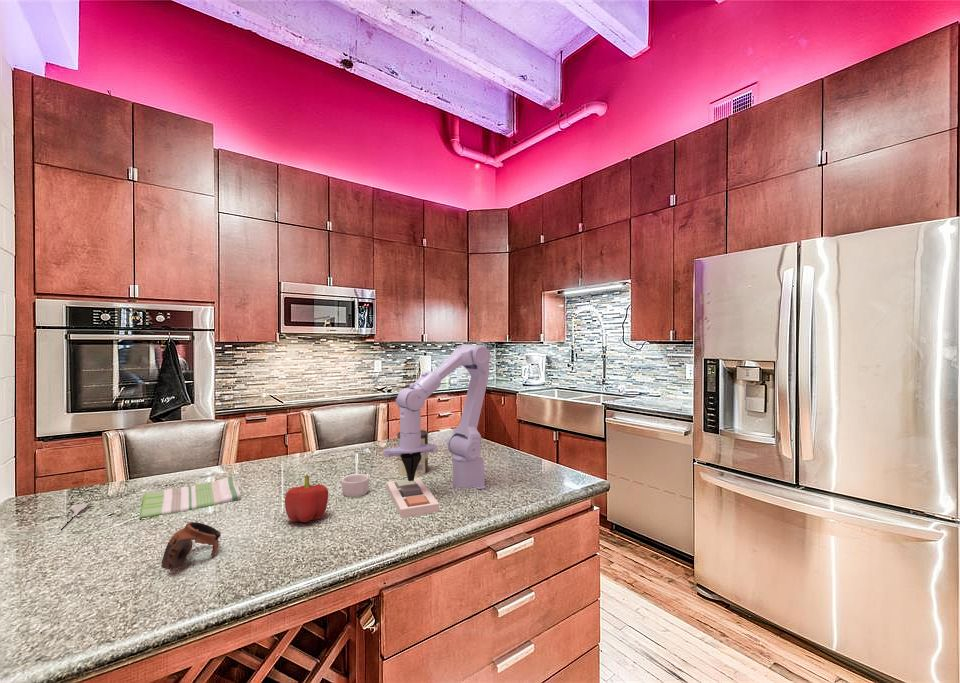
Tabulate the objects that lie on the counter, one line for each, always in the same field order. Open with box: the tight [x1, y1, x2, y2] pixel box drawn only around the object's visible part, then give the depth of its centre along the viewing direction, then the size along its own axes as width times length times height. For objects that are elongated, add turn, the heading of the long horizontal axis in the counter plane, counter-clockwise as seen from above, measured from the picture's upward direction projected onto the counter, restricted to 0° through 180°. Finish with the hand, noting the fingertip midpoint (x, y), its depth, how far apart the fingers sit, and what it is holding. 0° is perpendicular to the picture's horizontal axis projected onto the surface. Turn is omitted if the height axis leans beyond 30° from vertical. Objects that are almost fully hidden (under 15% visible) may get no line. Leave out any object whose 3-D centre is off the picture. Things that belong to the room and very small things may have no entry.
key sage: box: [395, 478, 415, 489], centre depth 127 cm, size 5×5×2 cm
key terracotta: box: [406, 495, 428, 507], centre depth 114 cm, size 5×5×2 cm
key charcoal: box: [401, 484, 421, 497], centre depth 120 cm, size 5×5×2 cm
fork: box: [71, 502, 94, 518], centre depth 111 cm, size 3×21×3 cm, turn 22°
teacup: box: [341, 473, 370, 498], centre depth 126 cm, size 10×8×5 cm
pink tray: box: [385, 477, 440, 519], centre depth 120 cm, size 10×22×3 cm, turn 22°
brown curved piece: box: [161, 521, 221, 570], centre depth 90 cm, size 12×9×8 cm
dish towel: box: [139, 475, 242, 520], centre depth 123 cm, size 17×23×4 cm
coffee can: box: [396, 429, 429, 477], centre depth 144 cm, size 10×10×14 cm
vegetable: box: [284, 475, 329, 523], centre depth 110 cm, size 11×10×10 cm
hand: (410, 480), depth 120 cm, fingers closed
